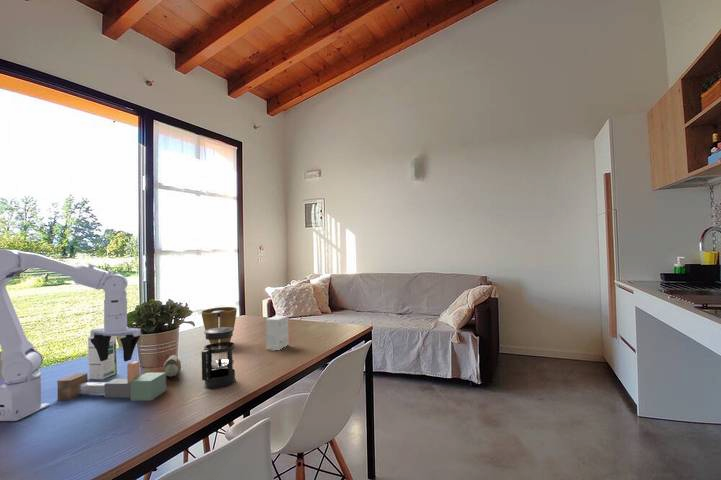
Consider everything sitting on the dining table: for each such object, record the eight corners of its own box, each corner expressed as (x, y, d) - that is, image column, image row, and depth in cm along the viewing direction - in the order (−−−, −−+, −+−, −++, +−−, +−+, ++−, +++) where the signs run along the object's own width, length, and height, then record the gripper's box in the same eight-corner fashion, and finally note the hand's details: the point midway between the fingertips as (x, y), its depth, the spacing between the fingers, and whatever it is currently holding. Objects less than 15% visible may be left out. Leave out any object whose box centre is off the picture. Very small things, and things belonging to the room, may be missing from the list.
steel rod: (75, 393, 106) (75, 385, 106) (82, 390, 109) (82, 382, 109) (117, 393, 105) (117, 385, 105) (123, 390, 108) (123, 382, 108)
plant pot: (204, 343, 166) (203, 308, 166) (238, 339, 170) (237, 306, 171) (199, 351, 152) (199, 313, 152) (237, 347, 156) (236, 310, 156)
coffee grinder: (221, 376, 121) (220, 307, 121) (243, 379, 117) (242, 308, 117) (192, 388, 110) (191, 313, 110) (216, 392, 106) (214, 314, 107)
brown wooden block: (57, 399, 105) (57, 380, 105) (75, 391, 111) (75, 373, 111) (70, 399, 104) (70, 380, 105) (87, 391, 110) (87, 373, 111)
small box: (276, 345, 159) (275, 315, 159) (289, 345, 156) (288, 315, 157) (265, 350, 151) (265, 318, 151) (278, 351, 149) (277, 319, 149)
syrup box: (102, 379, 120) (101, 336, 121) (87, 379, 122) (87, 336, 122) (117, 373, 126) (116, 332, 126) (103, 373, 127) (102, 332, 128)
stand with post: (104, 397, 105) (104, 365, 105) (115, 392, 109) (114, 360, 109) (146, 397, 104) (146, 364, 104) (155, 392, 108) (155, 360, 108)
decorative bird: (182, 368, 131) (181, 347, 131) (180, 382, 116) (179, 359, 116) (165, 371, 128) (164, 349, 129) (161, 385, 114) (161, 362, 114)
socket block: (130, 400, 102) (130, 381, 103) (147, 390, 109) (147, 372, 110) (150, 400, 102) (150, 380, 102) (166, 390, 109) (165, 372, 109)
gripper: (147, 312, 111) (147, 356, 111) (103, 312, 112) (103, 356, 112) (131, 316, 104) (131, 363, 103) (84, 316, 105) (84, 363, 105)
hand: (115, 360), depth 107 cm, fingers open, 7 cm apart
